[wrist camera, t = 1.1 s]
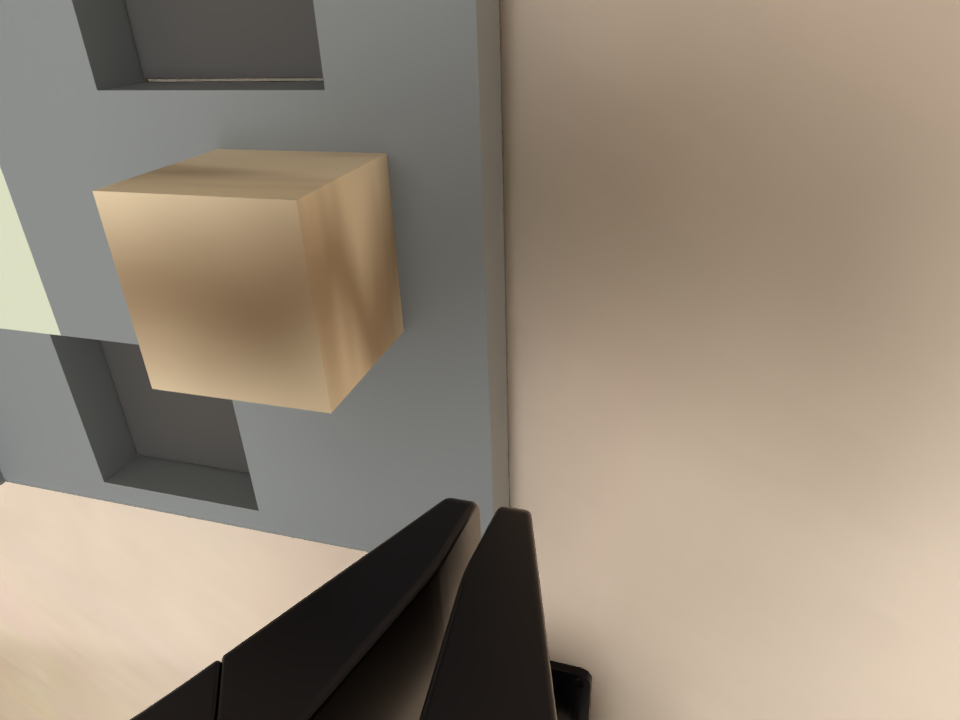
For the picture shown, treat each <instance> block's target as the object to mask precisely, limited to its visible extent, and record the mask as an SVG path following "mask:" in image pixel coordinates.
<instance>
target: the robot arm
mask: <svg viewBox="0 0 960 720" xmlns="http://www.w3.org/2000/svg"><path fill="white" fill-rule="evenodd" d="M578 679H579V680H578ZM591 687H592V676H591V674H590V673H589V672H588V671H587V670H585V669H583V668H580V667H576V666H571V665H567V664H562V663H558V662H553V661H550V659H549V651H548V643H547V635H546V628H545V620H544V612H543V604H542V596H541V588H540V580H539V572H538V564H537V556H536V548H535V540H534V533H533V525H532V517H531V514H530V512H529V511H527V510H523V509H517V508H511V507H505V506H503V507H500V508H498V509H497V511H496V512H495V514H494V516H493V518H492V520H491V521H490V523H489V525H488V527H487V529H486V531H485V533H484V535H483V536H482V538H481V524H480V510H479V506H478V505H477V504H476V503H475V502H473V501H468V500H462V499H456V498H446V499H444V500H442V501H441V502H439V503H438V504H437V505H435V506H434V507H432V508H431V509H430V510H428V511H427V512H425V513H424V514H423V515H421V516H420V517H418V518H417V519H415V520H414V521H413V522H411V523H410V524H408V525H407V526H406V527H404V528H403V529H401V530H400V531H399V532H397V533H396V534H394V535H393V536H392V537H390V538H389V539H387V540H386V541H384V542H383V543H382V544H380V545H379V546H377V547H376V548H375V549H373V550H372V551H370V552H369V553H368V554H366V555H365V556H363V557H362V558H361V559H359V560H358V561H356V562H355V563H353V564H352V565H351V566H349V567H348V568H346V569H345V570H344V571H342V572H341V573H339V574H338V575H337V576H335V577H334V578H332V579H331V580H330V581H328V582H327V583H325V584H324V585H322V586H321V587H320V588H318V589H317V590H315V591H314V592H313V593H311V594H310V595H308V596H307V597H306V598H304V599H303V600H301V601H300V602H299V603H297V604H296V605H294V606H293V607H291V608H290V609H289V610H287V611H286V612H284V613H283V614H282V615H280V616H279V617H277V618H276V619H275V620H273V621H272V622H270V623H269V624H268V625H266V626H265V627H263V628H262V629H260V630H259V631H258V632H256V633H255V634H253V635H252V636H251V637H249V638H248V639H246V640H245V641H244V642H242V643H241V644H239V645H238V646H237V647H235V648H234V649H232V650H231V651H229V652H228V653H227V654H225V655H224V656H223V658H222V663H221V662H220V661H215V662H214V663H212V664H211V665H209V666H208V667H207V668H205V669H204V670H202V671H201V672H199V673H198V674H197V675H195V676H194V677H192V678H191V679H190V680H188V681H187V682H185V683H184V684H182V685H181V686H179V687H178V688H176V689H175V690H174V691H172V692H171V693H169V694H168V695H166V696H165V697H163V698H162V699H160V700H159V701H157V702H156V703H154V704H153V705H151V706H150V707H148V708H147V709H146V710H144V711H143V712H141V713H140V714H138V715H136V716H135V717H133V718H132V719H130V720H589V719H590V703H591Z"/></svg>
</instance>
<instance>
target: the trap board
mask: <svg viewBox="0 0 960 720" xmlns="http://www.w3.org/2000/svg"><path fill="white" fill-rule="evenodd" d="M214 78H323V79H324V81H200V82H147V79H214ZM216 149H238V150H278V151H318V152H357V153H387V163H388V173H389V183H390V193H391V204H392V214H393V224H394V234H395V245H396V255H397V265H398V275H399V286H400V296H401V306H402V317H403V327H404V332H403V333H402V334H401V335H400V336H399V337H398V338H397V340H396V341H395V342H394V343H393V344H392V345H391V346H390V347H389V349H388V350H387V351H386V352H385V353H384V354H383V355H382V356H381V358H380V359H379V360H378V361H377V362H376V363H375V364H374V366H373V367H372V368H371V369H370V370H369V371H368V372H367V373H366V375H365V376H364V377H363V378H362V379H361V380H360V381H359V382H358V384H357V385H356V386H355V387H354V388H353V389H352V390H351V392H350V393H349V394H348V395H347V396H346V397H345V398H344V399H343V401H342V402H341V403H340V404H339V405H338V406H337V407H336V408H335V410H334V411H333V412H332V413H324V412H317V411H309V410H302V409H295V408H288V407H280V406H273V405H266V404H259V403H251V402H244V401H237V400H230V399H222V398H215V397H208V396H201V395H193V394H186V393H179V392H172V391H164V390H157V389H152V386H151V383H150V380H149V376H148V373H147V370H146V367H145V363H144V360H143V357H142V353H141V350H140V347H139V343H138V340H137V337H136V334H135V330H134V327H133V324H132V320H131V317H130V314H129V310H128V307H127V304H126V300H125V297H124V294H123V291H122V287H121V284H120V281H119V277H118V274H117V271H116V267H115V264H114V261H113V257H112V254H111V251H110V248H109V244H108V241H107V238H106V234H105V231H104V228H103V224H102V221H101V218H100V215H99V211H98V208H97V205H96V201H95V198H94V195H93V190H96V189H99V188H102V187H105V186H108V185H111V184H114V183H117V182H120V181H123V180H126V179H129V178H132V177H135V176H138V175H141V174H144V173H147V172H150V171H153V170H156V169H159V168H162V167H165V166H168V165H171V164H174V163H177V162H180V161H183V160H186V159H189V158H192V157H195V156H198V155H201V154H204V153H207V152H210V151H213V150H216ZM5 481H6V482H11V483H16V484H21V485H26V486H32V487H37V488H42V489H47V490H52V491H57V492H62V493H68V494H73V495H78V496H83V497H88V498H93V499H98V500H104V501H109V502H114V503H119V504H124V505H129V506H134V507H140V508H145V509H150V510H155V511H160V512H165V513H170V514H176V515H181V516H186V517H191V518H196V519H201V520H206V521H212V522H217V523H222V524H227V525H232V526H237V527H243V528H248V529H253V530H258V531H263V532H268V533H273V534H279V535H284V536H289V537H294V538H299V539H304V540H309V541H315V542H320V543H325V544H330V545H335V546H340V547H345V548H351V549H356V550H361V551H366V552H370V551H372V550H373V549H375V548H376V547H377V546H379V545H380V544H382V543H383V542H384V541H386V540H387V539H389V538H390V537H392V536H393V535H394V534H396V533H397V532H399V531H400V530H401V529H403V528H404V527H406V526H407V525H408V524H410V523H411V522H413V521H414V520H415V519H417V518H418V517H420V516H421V515H423V514H424V513H425V512H427V511H428V510H430V509H431V508H432V507H434V506H435V505H437V504H438V503H439V502H441V501H442V500H444V499H446V498H456V499H462V500H468V501H473V502H475V503H476V504H477V505H478V506H479V510H480V524H481V538H482V536H483V535H484V533H485V531H486V529H487V527H488V525H489V523H490V521H491V520H492V518H493V516H494V514H495V512H496V511H497V509H498V508H500V507H503V506H505V507H509V458H508V407H507V356H506V306H505V255H504V204H503V153H502V103H501V52H500V1H499V0H0V485H1V484H3V483H4V482H5Z"/></svg>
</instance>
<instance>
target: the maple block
mask: <svg viewBox="0 0 960 720" xmlns="http://www.w3.org/2000/svg"><path fill="white" fill-rule="evenodd" d="M93 195H94V198H95V201H96V205H97V208H98V211H99V215H100V218H101V221H102V224H103V228H104V231H105V234H106V238H107V241H108V244H109V248H110V251H111V254H112V257H113V261H114V264H115V267H116V271H117V274H118V277H119V281H120V284H121V287H122V291H123V294H124V297H125V300H126V304H127V307H128V310H129V314H130V317H131V320H132V324H133V327H134V330H135V334H136V337H137V340H138V343H139V347H140V350H141V353H142V357H143V360H144V363H145V367H146V370H147V373H148V376H149V380H150V383H151V386H152V389H157V390H164V391H172V392H179V393H186V394H193V395H201V396H208V397H215V398H222V399H230V400H237V401H244V402H251V403H259V404H266V405H273V406H280V407H288V408H295V409H302V410H309V411H317V412H324V413H332V412H333V411H334V410H335V408H336V407H337V406H338V405H339V404H340V403H341V402H342V401H343V399H344V398H345V397H346V396H347V395H348V394H349V393H350V392H351V390H352V389H353V388H354V387H355V386H356V385H357V384H358V382H359V381H360V380H361V379H362V378H363V377H364V376H365V375H366V373H367V372H368V371H369V370H370V369H371V368H372V367H373V366H374V364H375V363H376V362H377V361H378V360H379V359H380V358H381V356H382V355H383V354H384V353H385V352H386V351H387V350H388V349H389V347H390V346H391V345H392V344H393V343H394V342H395V341H396V340H397V338H398V337H399V336H400V335H401V334H402V333H403V332H404V327H403V317H402V306H401V296H400V286H399V275H398V265H397V255H396V245H395V234H394V224H393V214H392V204H391V193H390V183H389V173H388V163H387V153H357V152H318V151H278V150H238V149H216V150H213V151H210V152H207V153H204V154H201V155H198V156H195V157H192V158H189V159H186V160H183V161H180V162H177V163H174V164H171V165H168V166H165V167H162V168H159V169H156V170H153V171H150V172H147V173H144V174H141V175H138V176H135V177H132V178H129V179H126V180H123V181H120V182H117V183H114V184H111V185H108V186H105V187H102V188H99V189H96V190H93Z"/></svg>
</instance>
